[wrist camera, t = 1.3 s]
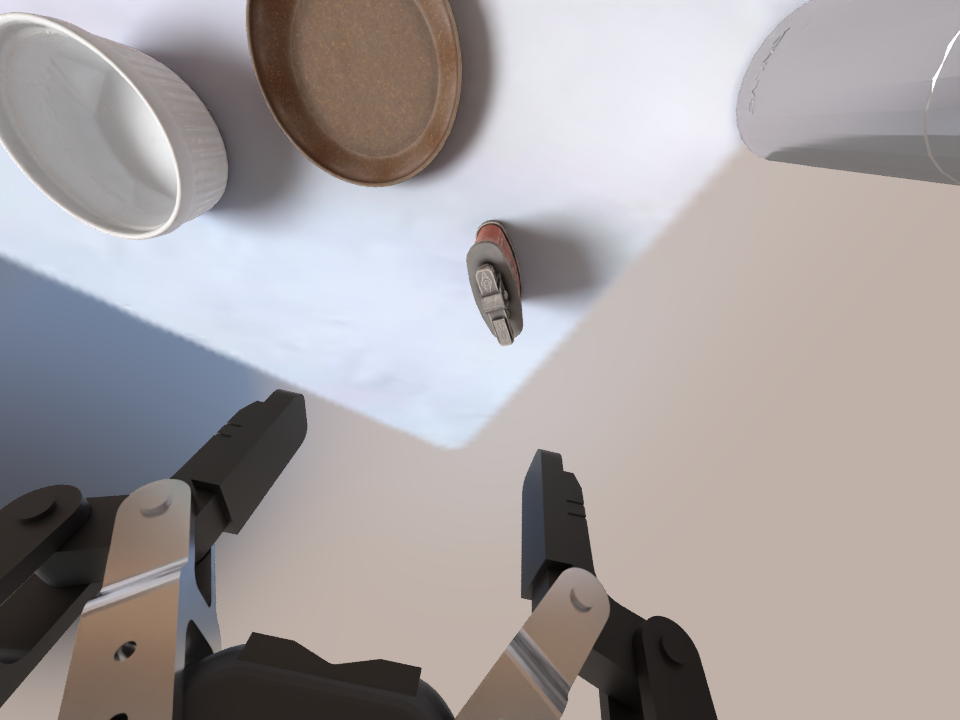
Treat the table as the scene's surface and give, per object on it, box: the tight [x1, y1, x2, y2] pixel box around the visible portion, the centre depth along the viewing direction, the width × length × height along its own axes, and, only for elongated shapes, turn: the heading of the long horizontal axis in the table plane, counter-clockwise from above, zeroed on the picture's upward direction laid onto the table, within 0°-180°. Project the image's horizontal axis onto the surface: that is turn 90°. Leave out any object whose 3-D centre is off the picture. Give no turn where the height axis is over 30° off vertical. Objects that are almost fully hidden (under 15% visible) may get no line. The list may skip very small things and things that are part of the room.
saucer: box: [246, 0, 462, 187], centre depth 25 cm, size 15×15×3 cm
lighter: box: [466, 220, 523, 346], centre depth 29 cm, size 8×3×10 cm, turn 19°
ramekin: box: [0, 12, 228, 240], centre depth 27 cm, size 13×13×7 cm
